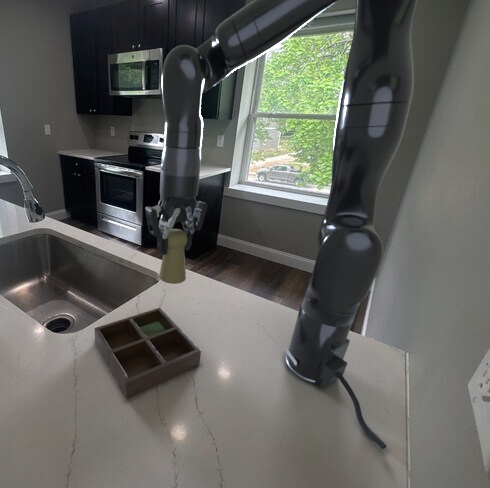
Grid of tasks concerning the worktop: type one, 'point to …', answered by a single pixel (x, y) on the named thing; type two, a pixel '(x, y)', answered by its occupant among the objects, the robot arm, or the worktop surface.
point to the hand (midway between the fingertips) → (174, 250)
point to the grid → (145, 351)
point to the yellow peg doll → (174, 258)
